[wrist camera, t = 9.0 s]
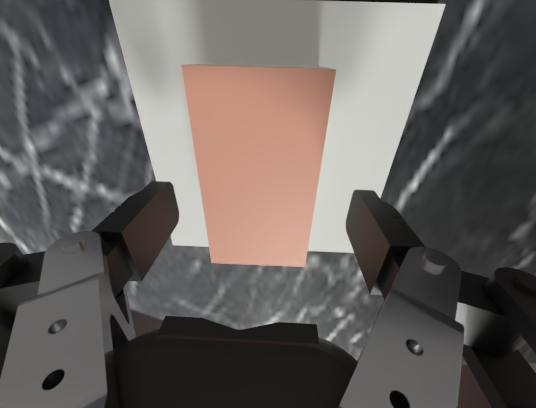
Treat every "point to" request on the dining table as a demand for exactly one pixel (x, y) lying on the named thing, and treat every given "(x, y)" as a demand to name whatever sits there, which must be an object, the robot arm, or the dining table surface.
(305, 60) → the mat
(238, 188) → the card box
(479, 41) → the dining table surface
